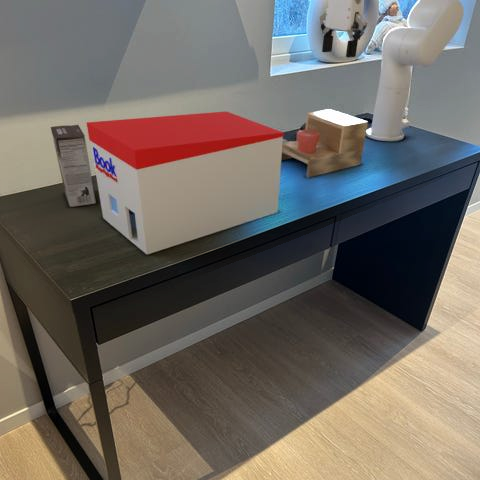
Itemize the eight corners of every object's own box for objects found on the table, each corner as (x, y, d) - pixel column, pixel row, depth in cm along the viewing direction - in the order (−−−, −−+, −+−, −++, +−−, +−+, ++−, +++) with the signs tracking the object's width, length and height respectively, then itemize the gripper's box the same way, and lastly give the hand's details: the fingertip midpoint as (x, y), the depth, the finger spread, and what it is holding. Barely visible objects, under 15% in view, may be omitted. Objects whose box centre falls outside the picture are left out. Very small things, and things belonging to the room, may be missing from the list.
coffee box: (64, 193, 120) (49, 126, 111) (90, 189, 123) (78, 123, 113) (69, 207, 114) (54, 137, 104) (96, 203, 116) (85, 134, 106)
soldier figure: (284, 144, 157) (305, 143, 147) (276, 157, 157) (296, 156, 147) (268, 128, 153) (288, 125, 143) (260, 141, 153) (280, 139, 143)
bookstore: (101, 218, 110) (85, 122, 97) (226, 184, 127) (226, 99, 114) (145, 255, 96) (133, 150, 84) (278, 212, 114) (284, 119, 101)
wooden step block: (324, 149, 151) (329, 108, 144) (360, 164, 141) (368, 121, 133) (273, 161, 142) (276, 118, 135) (308, 177, 132) (313, 132, 124)
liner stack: (307, 145, 140) (309, 128, 137) (322, 151, 136) (324, 133, 133) (291, 148, 137) (292, 131, 134) (305, 154, 133) (306, 137, 130)
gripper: (382, -19, 121) (370, 58, 132) (335, -22, 133) (327, 49, 143) (361, -19, 118) (350, 60, 128) (314, -22, 129) (308, 51, 140)
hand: (338, 54), depth 136 cm, fingers open, 9 cm apart
